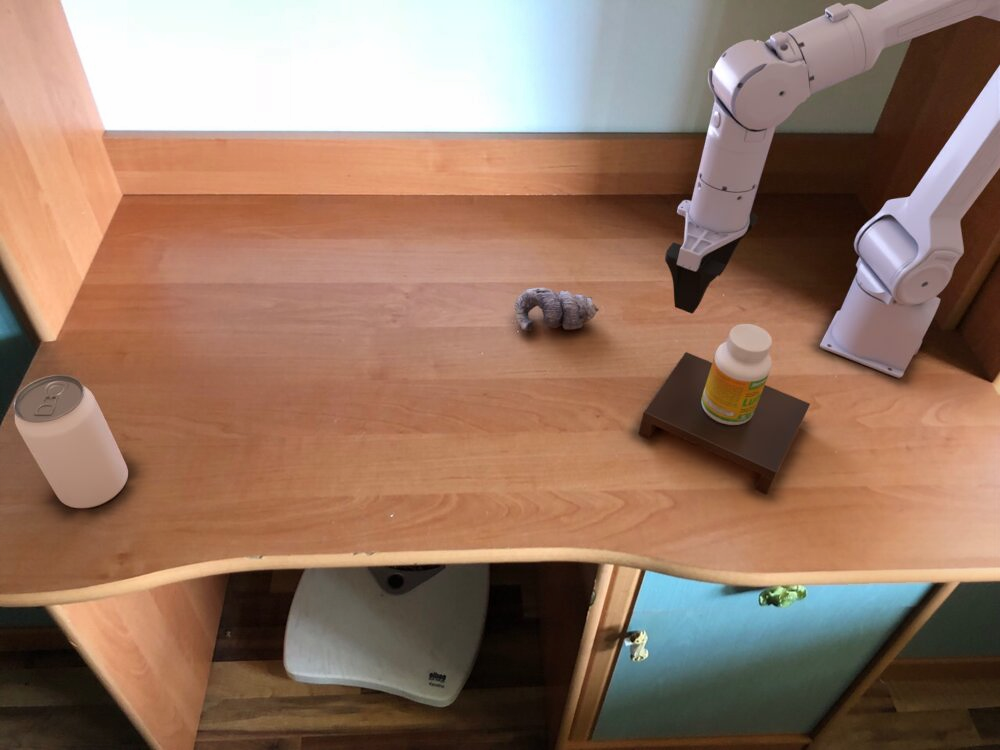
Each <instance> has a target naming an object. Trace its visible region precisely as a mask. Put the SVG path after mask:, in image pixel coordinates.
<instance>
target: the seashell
mask: <svg viewBox="0 0 1000 750" xmlns="http://www.w3.org/2000/svg"><path fill="white" fill-rule="evenodd" d="M536 307H538V308H539V309H541V313H542V315H543V318H542V321H543V324H544V325H545V326H546V327H548V328H552V329H557V328H558V327H560V326H562V327H563V329H564V330H565V331H566V330H567V331H568V330H577V329H581V328H582V327H583V325H585V324H587V323H588V322H590V321H591V320H592V319H593V318H594V317H595V315H596V314H597V312H599V310H600V309H599V308H598V307H597V306H596V305H595V303H594V301H593V298H592V297H591V296H587V297H586V296H585V295H584V294H583V293H580V294H575V295H574V294H573V293H572V292H571V291H568V290H561V291H558V292H556V291H554V290H553V289H551V288H548V287H542V286H541V287H540V286H539V287H534V288H532V287H530V288H527V289H525V290H524V291H523V292H522V293H521V294H520V295H519V296H518V297H517V299H516V301H515V302H514V310H515V317H516V321H517V323H518V324H519V326H520V329H521V331H529V332H530V331H532V328H533V326H534V325H535V322H534V320H532V319H531V318H530V317H529V313H530V312H531V311H532V310H533V309H534V308H536Z"/></svg>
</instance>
